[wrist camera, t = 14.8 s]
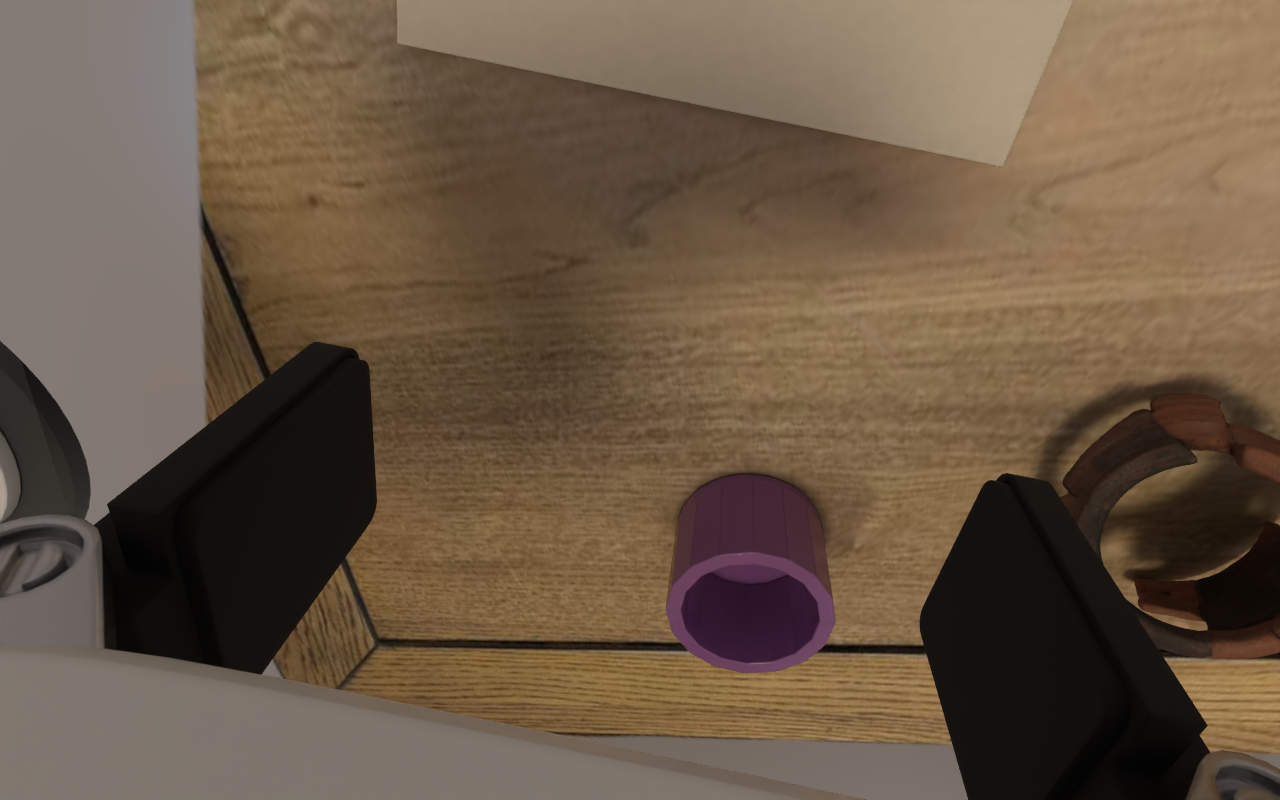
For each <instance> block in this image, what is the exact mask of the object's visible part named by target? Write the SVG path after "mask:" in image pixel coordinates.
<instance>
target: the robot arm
mask: <svg viewBox="0 0 1280 800" xmlns="http://www.w3.org/2000/svg"><path fill="white" fill-rule="evenodd" d="M20 493H21V485H20V473H19V469H18V466H17V463H16V459H15V456H14V454H13V452H12V450H11V448H10V446H9V444H8V442H7V440H6V438H5V436H4V435H3V433H2V432H1V431H0V523H1V522H2V521H4V520H5V519H6V518H8V517H9V516H10V515H11V514H12V513H13V511H14V510H15V508H16V506H17V505H18V501H19V497H20ZM376 504H377V494H376V477H375V459H374V442H373V425H372V408H371V391H370V373H369V366H368V364H367V362H366V361H365V360H360V359H359V356H358V354H357V351H355V350H354V349H352V348H347V347H342V346H336V345H331V344H326V343H321V342H314V343H312V344H310V345H309V346H307V347H306V348H305V349H304V350H302V351H301V352H300V353H298V354H297V355H296V356H295V357H293V358H292V359H291V360H290V361H288V362H287V363H286V364H284V365H283V366H282V367H281V368H279V369H278V370H277V371H276V372H274V373H273V374H272V375H271V376H269V377H268V378H267V379H265V380H264V381H263V382H262V383H260V384H259V385H258V386H257V387H255V388H254V389H253V390H251V391H250V392H249V393H248V394H246V395H245V396H244V397H243V398H241V399H240V400H239V401H237V402H236V403H235V404H234V405H232V406H231V407H230V408H229V409H227V410H226V411H225V412H224V413H222V414H221V415H220V416H218V417H217V418H216V419H215V420H213V421H212V422H211V423H210V424H208V425H207V426H206V427H204V428H203V429H202V430H201V431H200V432H198V433H197V434H196V435H194V436H193V437H192V438H190V439H189V440H188V441H187V442H185V443H184V444H183V445H182V446H180V447H179V448H178V449H177V450H175V451H174V452H173V453H171V454H170V455H169V456H168V457H166V458H165V459H164V460H163V461H161V462H160V463H159V464H158V465H156V466H155V467H154V468H152V469H151V470H150V471H149V472H147V473H146V474H145V475H143V476H142V477H141V478H140V479H138V480H137V481H136V482H135V483H133V484H132V485H131V486H130V487H128V488H127V489H126V490H125V491H123V492H122V493H121V494H120V495H118V496H117V497H116V498H115V499H113V500H112V501H110V502H109V503H108V504H107V505H108V508H109V511H110V513H109V514H107V515H106V516H105V517H104V518H102V519H101V520H100V521H98V522H97V523H96V524H95V525H92V524H91V523H89V522H88V521H87V520H84V519H80V518H77V517H73V516H69V515H41V516H33V517H25V518H20V519H17V520H13V521H9V522H6V523H2V524H0V800H866V799H861V798H856V797H852V796H847V795H842V794H838V793H833V792H828V791H824V790H819V789H814V788H809V787H805V786H800V785H796V784H790V783H786V782H781V781H777V780H772V779H768V778H763V777H758V776H754V775H749V774H744V773H739V772H735V771H730V770H725V769H720V768H716V767H711V766H706V765H701V764H696V763H692V762H687V761H682V760H677V759H672V758H668V757H663V756H658V755H653V754H649V753H644V752H639V751H634V750H630V749H625V748H620V747H615V746H610V745H606V744H601V743H596V742H591V741H586V740H582V739H577V738H572V737H567V736H562V735H558V734H553V733H548V732H543V731H538V730H533V729H529V728H524V727H519V726H514V725H509V724H505V723H500V722H495V721H490V720H485V719H480V718H475V717H470V716H465V715H460V714H455V713H451V712H446V711H441V710H436V709H431V708H426V707H421V706H416V705H411V704H406V703H401V702H396V701H391V700H386V699H382V698H377V697H372V696H367V695H362V694H357V693H352V692H347V691H342V690H337V689H332V688H327V687H322V686H317V685H312V684H308V683H303V682H298V681H292V680H287V679H281V678H276V677H270V676H265V675H261V674H262V673H263V672H264V670H265V669H266V667H267V666H268V665H269V663H270V662H271V660H272V659H273V658H274V656H275V655H276V653H277V652H278V651H279V649H280V648H281V646H282V645H283V644H284V642H285V641H286V639H287V638H288V637H289V635H290V634H291V632H292V631H293V630H294V628H295V627H296V626H297V624H298V623H299V621H300V620H301V619H302V617H303V616H304V614H305V613H306V612H307V610H308V609H309V607H310V606H311V605H312V603H313V602H314V600H315V599H316V598H317V596H318V595H319V593H320V592H321V591H322V589H323V588H324V586H325V585H326V584H327V582H328V581H329V579H330V578H331V577H332V575H333V574H334V572H335V571H336V570H337V568H338V567H339V565H340V564H341V563H342V561H343V560H344V558H345V557H346V556H347V554H348V553H349V551H350V550H351V549H352V547H353V546H354V545H355V543H356V542H357V540H358V539H359V538H360V536H361V535H362V533H363V532H364V531H365V529H366V528H367V526H368V525H369V523H370V522H371V520H372V518H373V516H374V513H375V509H376ZM920 632H921V636H922V640H923V643H924V647H925V650H926V654H927V657H928V661H929V664H930V668H931V671H932V675H933V678H934V682H935V685H936V689H937V692H938V696H939V699H940V702H941V706H942V709H943V713H944V716H945V720H946V723H947V727H948V730H949V734H950V737H951V741H952V744H953V748H954V751H955V755H956V758H957V762H958V765H959V769H960V772H961V776H962V779H963V783H964V786H965V790H966V793H967V797H968V800H1280V769H1278V768H1277V767H1275V766H1273V765H1271V764H1269V763H1267V762H1266V761H1263V760H1260V759H1257V758H1255V757H1252V756H1249V755H1247V754H1244V753H1239V752H1232V751H1224V750H1221V751H1217V752H1213V753H1210V751H1209V750H1208V748H1207V747H1206V745H1205V743H1204V742H1203V740H1202V739H1201V737H1200V734H1201V733H1202V731H1203V730H1204V729H1205V728H1206V727H1207V726H1208V725H1207V724H1206V722H1205V721H1204V719H1203V718H1202V716H1201V715H1200V713H1199V712H1198V710H1197V708H1196V707H1195V705H1194V704H1193V702H1192V701H1191V699H1190V698H1189V696H1188V695H1187V693H1186V692H1185V690H1184V688H1183V687H1182V685H1181V684H1180V682H1179V681H1178V679H1177V678H1176V676H1175V675H1174V673H1173V671H1172V670H1171V668H1170V667H1169V665H1168V664H1167V662H1166V661H1165V659H1164V658H1163V656H1162V655H1161V653H1160V651H1159V650H1158V648H1157V647H1156V645H1155V644H1154V642H1153V641H1152V639H1151V638H1150V636H1149V634H1148V633H1147V631H1146V630H1145V628H1144V627H1143V625H1142V624H1141V622H1140V621H1139V619H1138V618H1137V616H1136V614H1135V613H1134V611H1133V610H1132V608H1131V607H1130V605H1129V604H1128V602H1127V601H1126V599H1125V597H1124V596H1123V594H1122V593H1121V591H1120V590H1119V588H1118V587H1117V585H1116V584H1115V582H1114V581H1113V579H1112V577H1111V576H1110V574H1109V573H1108V571H1107V570H1106V568H1105V567H1104V565H1103V564H1102V562H1101V560H1100V559H1099V557H1098V556H1097V554H1096V553H1095V551H1094V550H1093V548H1092V547H1091V545H1090V544H1089V542H1088V540H1087V539H1086V537H1085V536H1084V534H1083V533H1082V531H1081V530H1080V528H1079V527H1078V525H1077V523H1076V522H1075V520H1074V519H1073V517H1072V516H1071V514H1070V513H1069V511H1068V510H1067V508H1066V507H1065V505H1064V503H1063V502H1062V500H1061V499H1060V497H1059V496H1058V494H1057V493H1056V491H1055V490H1054V488H1053V486H1052V485H1051V484H1050V483H1049V482H1047V481H1044V480H1040V479H1034V478H1029V477H1024V476H1019V475H1013V474H1008V473H1006V474H1002V475H1001V476H1000V477H999V478H998V479H997V480H996V481H993V480H990V481H987V482H986V483H985V484H984V485H983V487H982V488H981V490H980V492H979V494H978V497H977V499H976V501H975V503H974V505H973V507H972V509H971V511H970V513H969V515H968V517H967V519H966V521H965V523H964V525H963V527H962V529H961V531H960V533H959V535H958V537H957V539H956V541H955V543H954V545H953V547H952V549H951V551H950V553H949V555H948V557H947V559H946V561H945V563H944V565H943V567H942V569H941V571H940V573H939V575H938V577H937V579H936V581H935V584H934V586H933V588H932V590H931V592H930V594H929V596H928V598H927V600H926V602H925V604H924V606H923V608H922V611H921V615H920Z"/></svg>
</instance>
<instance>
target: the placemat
mask: <svg viewBox="0 0 1280 800" xmlns="http://www.w3.org/2000/svg"><path fill="white" fill-rule="evenodd" d="M1073 1H1074V0H397V43H398V44H401V45H406V46H411V47H416V48H421V49H425V50H430V51H435V52H440V53H445V54H450V55H455V56H460V57H465V58H470V59H474V60H479V61H484V62H489V63H494V64H499V65H504V66H509V67H514V68H519V69H523V70H528V71H533V72H538V73H543V74H548V75H553V76H558V77H563V78H568V79H572V80H577V81H582V82H587V83H592V84H597V85H602V86H607V87H612V88H617V89H622V90H626V91H631V92H636V93H641V94H646V95H651V96H656V97H661V98H666V99H671V100H675V101H680V102H685V103H690V104H695V105H700V106H705V107H710V108H715V109H720V110H724V111H729V112H734V113H739V114H744V115H749V116H754V117H759V118H764V119H769V120H773V121H778V122H783V123H788V124H793V125H798V126H803V127H808V128H813V129H818V130H822V131H827V132H832V133H837V134H842V135H847V136H852V137H857V138H862V139H867V140H872V141H876V142H881V143H886V144H891V145H896V146H901V147H906V148H911V149H916V150H921V151H925V152H930V153H935V154H940V155H945V156H950V157H955V158H960V159H965V160H970V161H974V162H979V163H984V164H989V165H994V166H999V167H1003V165H1004V163H1005V161H1006V158H1007V156H1008V154H1009V151H1010V149H1011V147H1012V144H1013V142H1014V140H1015V137H1016V135H1017V133H1018V130H1019V128H1020V125H1021V123H1022V121H1023V118H1024V116H1025V114H1026V111H1027V109H1028V107H1029V104H1030V102H1031V100H1032V97H1033V95H1034V93H1035V90H1036V88H1037V85H1038V83H1039V81H1040V78H1041V76H1042V74H1043V71H1044V69H1045V67H1046V64H1047V62H1048V60H1049V57H1050V55H1051V53H1052V50H1053V48H1054V45H1055V43H1056V41H1057V38H1058V36H1059V34H1060V31H1061V29H1062V27H1063V24H1064V22H1065V20H1066V17H1067V15H1068V13H1069V10H1070V8H1071V5H1072V3H1073Z"/></svg>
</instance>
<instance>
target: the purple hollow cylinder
mask: <svg viewBox="0 0 1280 800" xmlns="http://www.w3.org/2000/svg"><path fill="white" fill-rule="evenodd" d="M666 612H667V616H668V620H669V623H670V627H671V630H672V632H673V634H674V635H675V636H676V637H677V639H678V640H679V641H680V642H681V643H682V644H683V645H684V647H685V648H686V649H687V650H688V651H689V652H690V653H692V654H693V655H695V656H697V657H699V658H701V659H702V660H704V661H706V662H708V663H710V664H711V665H713V666H716V667H719V668H724V669H728V670H733V671H737V672H741V673H745V672H746V673H759V672H775V671H780V670H783V669H786V668H789V667H791V666H794V665H797V664H800V663H803V662H804V661H806V660H807V659H809V658H810V657H811V656H812V655H814V654H815V653H816V652H817V651H819V650H820V649H821V648H822V647H823V646H824V645H825V644H826V642H827V640H828V638H829V636H830V633H831V631H832V629H833V627H834V625H835V613H834V605H833V597H832V590H831V584H830V577H829V571H828V564H827V557H826V551H825V544H824V538H823V531H822V525H821V522H820V518H819V516H818V513H817V511H816V509H815V508H814V506H813V504H812V503H811V502H810V501H809V500H808V498H807V497H805V496H804V495H803V494H802V493H801V492H800V491H798V490H797V489H796V488H794V487H793V486H791V485H789V484H787V483H785V482H783V481H780V480H778V479H775V478H771V477H767V476H761V475H751V474H743V475H733V476H727V477H724V478H720V479H717V480H715V481H712V482H710V483H708V484H706V485H705V486H703V487H701V488H700V489H699V490H697V491H696V492H695V493H694V494H693V495H692V496H691V497H690V498H689V499H688V500H687V502H686V503H685V504H684V506H683V508H682V510H681V512H680V515H679V518H678V524H677V529H676V533H675V539H674V547H673V555H672V563H671V571H670V579H669V586H668V594H667V602H666Z"/></svg>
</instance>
